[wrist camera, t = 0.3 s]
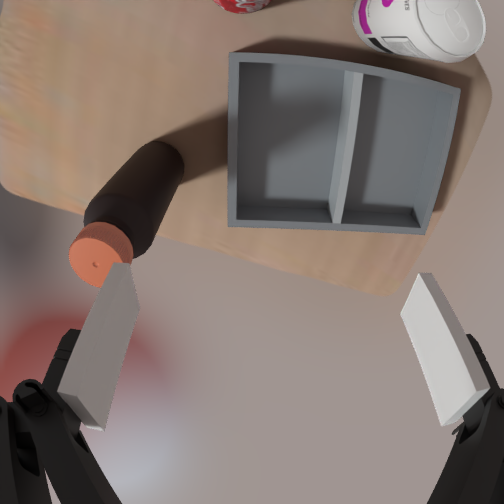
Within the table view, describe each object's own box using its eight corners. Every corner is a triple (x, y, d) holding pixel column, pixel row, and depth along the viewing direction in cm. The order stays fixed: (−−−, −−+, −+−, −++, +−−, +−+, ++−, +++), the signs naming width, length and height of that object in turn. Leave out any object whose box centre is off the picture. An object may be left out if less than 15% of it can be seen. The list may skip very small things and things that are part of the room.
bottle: (123, 165, 38) (45, 258, 22) (158, 129, 36) (84, 207, 20) (159, 200, 41) (107, 309, 25) (195, 168, 39) (155, 270, 23)
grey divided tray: (231, 52, 31) (229, 52, 27) (441, 82, 31) (460, 89, 27) (229, 209, 42) (227, 226, 39) (412, 218, 43) (424, 234, 39)
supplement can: (335, 8, 27) (386, -12, 15) (389, -19, 24) (458, -42, 12) (375, 64, 31) (442, 80, 19) (425, 36, 28) (504, 44, 16)
